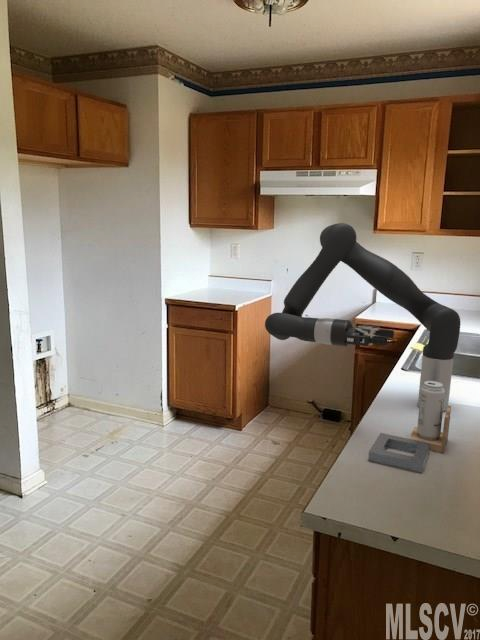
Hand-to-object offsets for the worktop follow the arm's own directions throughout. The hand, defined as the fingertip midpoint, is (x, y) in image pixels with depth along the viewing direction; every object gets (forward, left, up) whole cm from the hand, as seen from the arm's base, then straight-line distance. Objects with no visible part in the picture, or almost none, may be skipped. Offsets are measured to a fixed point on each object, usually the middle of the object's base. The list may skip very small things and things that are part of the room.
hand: (390, 337), depth 142 cm
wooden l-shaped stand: (0, +12, -28) cm, 31 cm away
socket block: (+12, +7, -28) cm, 31 cm away
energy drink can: (0, +12, -26) cm, 29 cm away
